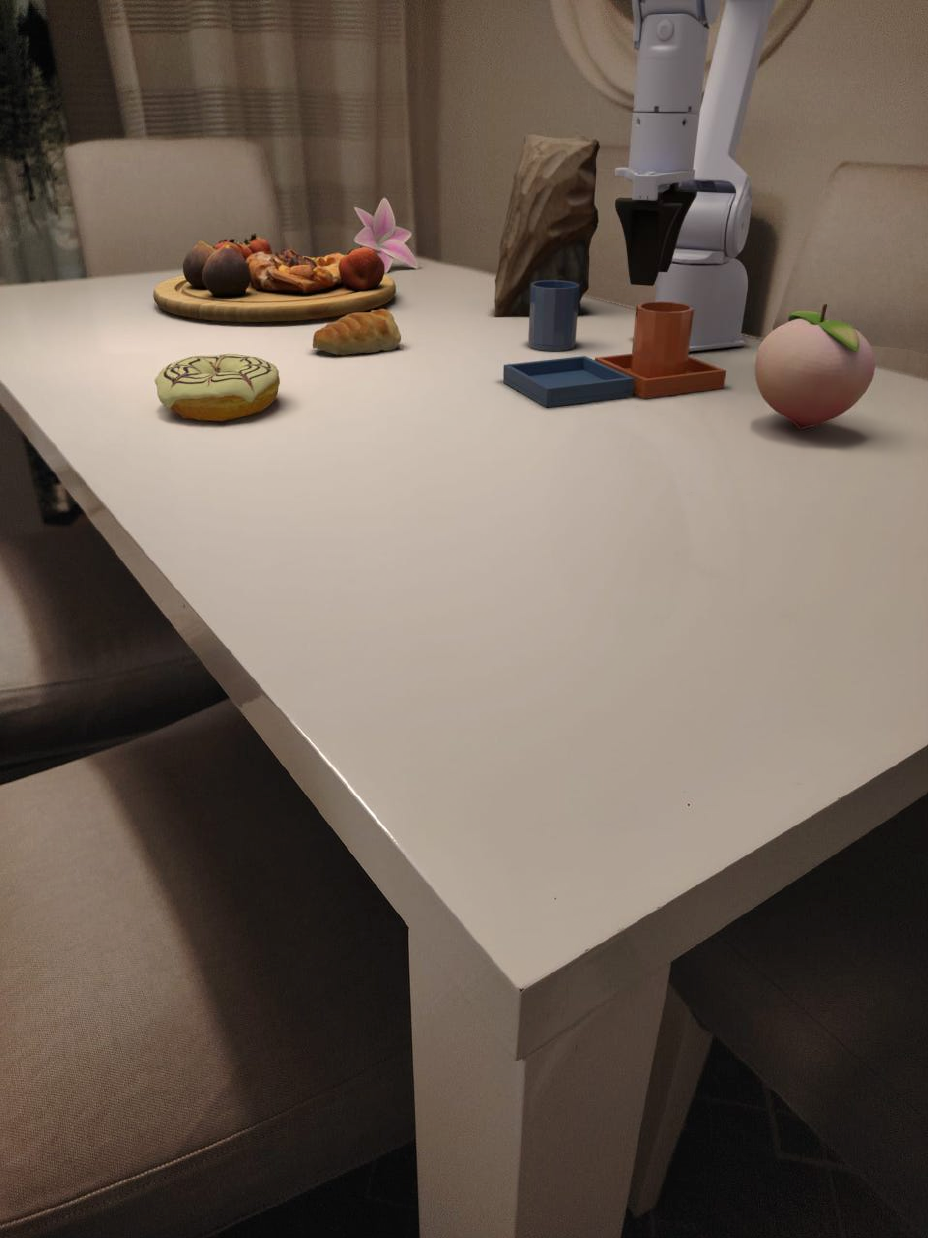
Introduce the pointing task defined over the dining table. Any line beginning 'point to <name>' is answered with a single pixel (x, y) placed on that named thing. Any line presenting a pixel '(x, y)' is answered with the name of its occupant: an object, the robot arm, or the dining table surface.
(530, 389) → the blue dish
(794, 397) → the decorative fruit
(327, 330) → the pastry
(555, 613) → the dining table surface
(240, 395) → the decorated donut
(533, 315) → the blue cup
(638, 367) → the terracotta cup
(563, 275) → the brown rock
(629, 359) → the terracotta dish
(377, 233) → the lily
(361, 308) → the wooden plate
